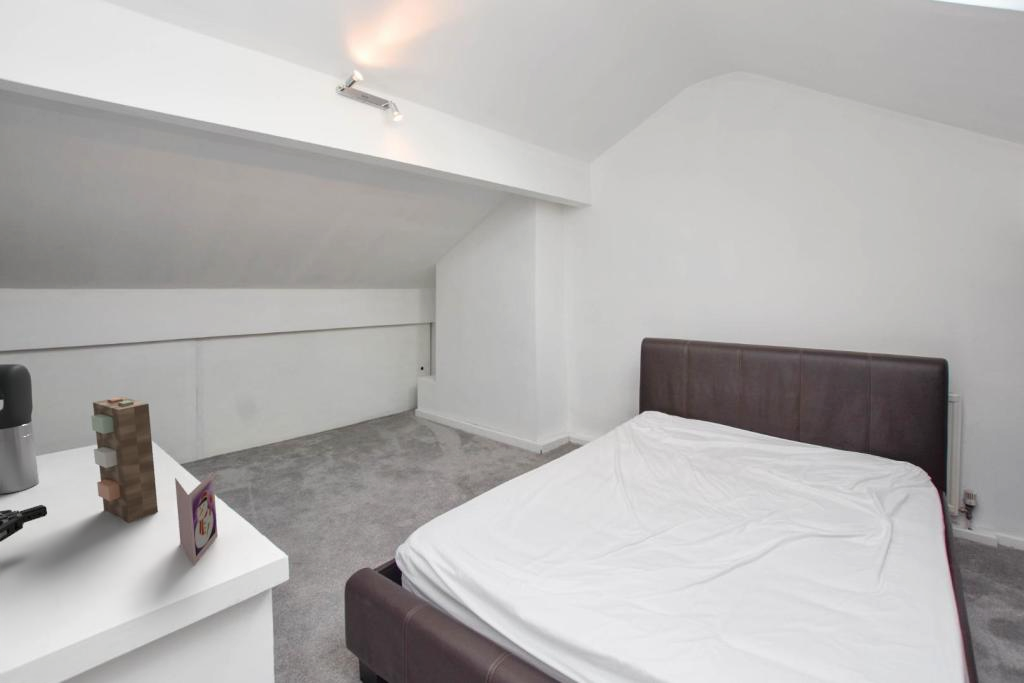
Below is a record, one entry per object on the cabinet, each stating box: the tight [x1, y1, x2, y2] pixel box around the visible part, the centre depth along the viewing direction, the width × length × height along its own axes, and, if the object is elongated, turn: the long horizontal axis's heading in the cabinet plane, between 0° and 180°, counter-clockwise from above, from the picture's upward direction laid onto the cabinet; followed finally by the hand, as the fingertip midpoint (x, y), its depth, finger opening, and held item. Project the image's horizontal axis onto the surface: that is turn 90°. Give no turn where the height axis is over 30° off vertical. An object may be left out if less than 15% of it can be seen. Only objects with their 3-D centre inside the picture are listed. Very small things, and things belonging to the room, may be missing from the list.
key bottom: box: [96, 479, 121, 501], centre depth 115 cm, size 5×3×3 cm, turn 62°
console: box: [92, 396, 159, 523], centre depth 117 cm, size 12×6×28 cm, turn 62°
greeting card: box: [174, 471, 219, 567], centre depth 101 cm, size 11×7×15 cm, turn 10°
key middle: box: [93, 447, 117, 468], centre depth 114 cm, size 5×3×3 cm, turn 62°
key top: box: [90, 414, 114, 434], centre depth 113 cm, size 5×3×3 cm, turn 62°
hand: (45, 509), depth 104 cm, fingers closed
